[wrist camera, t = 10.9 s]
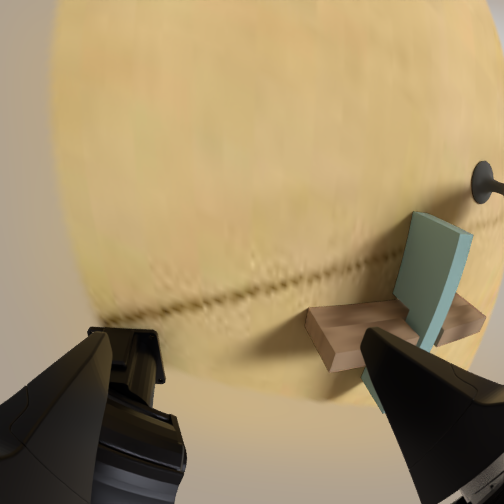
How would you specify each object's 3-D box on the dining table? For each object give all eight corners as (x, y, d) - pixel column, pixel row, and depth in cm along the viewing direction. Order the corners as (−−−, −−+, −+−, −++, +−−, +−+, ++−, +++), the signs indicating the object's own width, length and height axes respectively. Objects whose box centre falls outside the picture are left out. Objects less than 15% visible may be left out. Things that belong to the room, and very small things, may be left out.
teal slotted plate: (374, 374, 29) (396, 408, 24) (360, 377, 29) (382, 413, 24) (427, 213, 22) (473, 234, 16) (413, 211, 22) (460, 233, 16)
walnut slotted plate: (454, 291, 27) (486, 316, 21) (449, 305, 28) (479, 331, 22) (308, 307, 23) (335, 353, 18) (304, 326, 24) (329, 372, 19)
